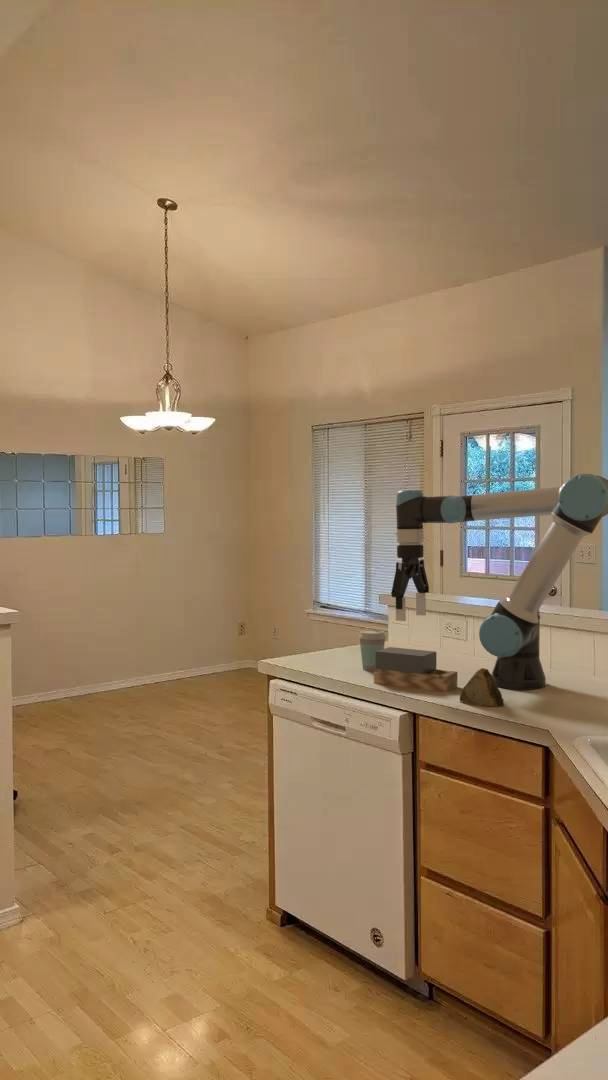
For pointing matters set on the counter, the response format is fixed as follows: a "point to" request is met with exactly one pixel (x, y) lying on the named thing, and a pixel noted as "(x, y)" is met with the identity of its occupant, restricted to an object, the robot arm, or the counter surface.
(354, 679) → the counter surface
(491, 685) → the rock
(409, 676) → the brown long open box
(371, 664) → the coffee cup
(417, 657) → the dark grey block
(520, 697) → the counter surface
